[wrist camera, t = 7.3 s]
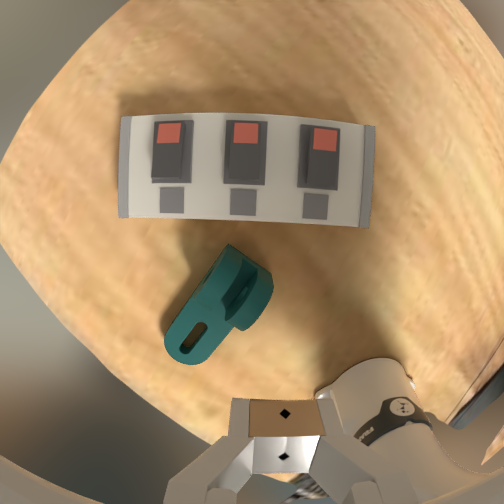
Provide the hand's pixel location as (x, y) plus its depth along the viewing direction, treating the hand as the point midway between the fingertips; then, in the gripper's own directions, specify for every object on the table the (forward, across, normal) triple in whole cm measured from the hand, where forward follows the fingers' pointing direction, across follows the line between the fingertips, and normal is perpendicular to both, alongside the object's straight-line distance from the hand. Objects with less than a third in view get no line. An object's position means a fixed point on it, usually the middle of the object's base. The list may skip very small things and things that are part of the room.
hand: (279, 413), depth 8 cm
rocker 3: (+24, -6, -10) cm, 27 cm away
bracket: (+31, +6, +11) cm, 33 cm away
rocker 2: (+24, +2, -10) cm, 26 cm away
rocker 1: (+24, +10, -10) cm, 28 cm away
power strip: (+30, +2, -8) cm, 31 cm away
